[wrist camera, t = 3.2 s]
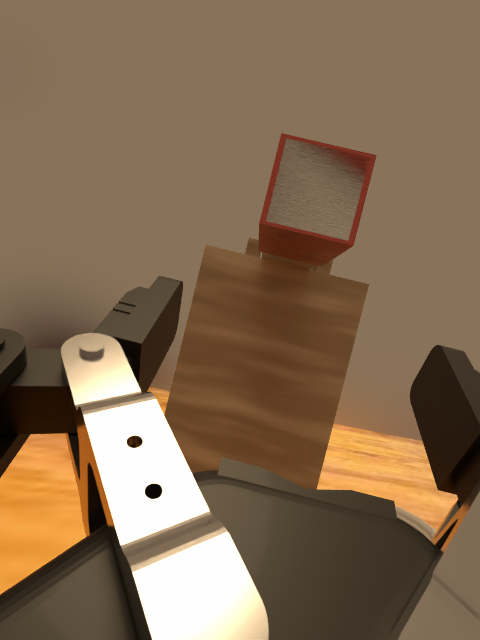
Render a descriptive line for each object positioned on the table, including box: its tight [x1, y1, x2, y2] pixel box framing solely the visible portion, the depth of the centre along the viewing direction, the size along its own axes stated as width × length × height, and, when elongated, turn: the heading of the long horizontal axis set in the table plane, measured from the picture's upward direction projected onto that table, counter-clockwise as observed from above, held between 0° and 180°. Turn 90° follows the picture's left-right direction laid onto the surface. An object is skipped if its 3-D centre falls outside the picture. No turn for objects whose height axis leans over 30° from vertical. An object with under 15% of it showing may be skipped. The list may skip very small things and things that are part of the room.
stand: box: [164, 238, 369, 490], centre depth 36 cm, size 16×14×33 cm
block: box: [258, 134, 376, 270], centre depth 35 cm, size 36×4×9 cm, turn 177°
